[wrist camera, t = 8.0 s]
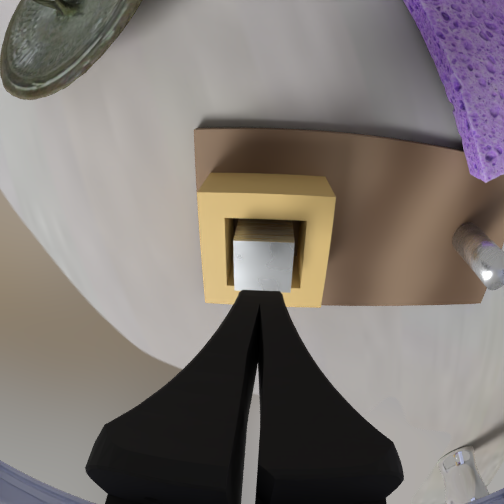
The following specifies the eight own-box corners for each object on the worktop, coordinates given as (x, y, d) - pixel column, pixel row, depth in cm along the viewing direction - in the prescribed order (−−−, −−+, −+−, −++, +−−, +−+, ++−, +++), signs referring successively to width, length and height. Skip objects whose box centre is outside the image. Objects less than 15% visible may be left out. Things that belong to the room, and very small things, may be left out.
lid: (58, 130, 15) (1, 151, 11) (1, 22, 11) (-54, 23, 7) (210, 13, 12) (183, -14, 8) (127, -92, 8) (87, -126, 4)
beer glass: (478, 449, 33) (498, 526, 20) (439, 469, 35) (454, 546, 22) (472, 439, 30) (496, 527, 17) (429, 461, 33) (445, 548, 20)
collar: (325, 176, 15) (336, 197, 13) (314, 273, 18) (320, 307, 15) (210, 172, 16) (197, 192, 13) (214, 269, 18) (205, 302, 16)
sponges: (466, 174, 14) (484, 184, 13) (373, -43, 10) (384, -57, 8) (542, 140, 13) (561, 147, 11) (469, -52, 8) (485, -61, 6)
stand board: (517, 163, 14) (564, 190, 10) (476, 298, 19) (505, 340, 15) (196, 128, 15) (168, 145, 11) (206, 294, 20) (191, 347, 16)
